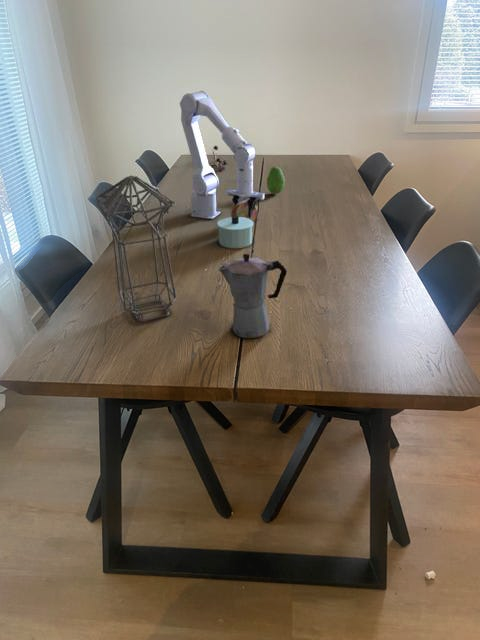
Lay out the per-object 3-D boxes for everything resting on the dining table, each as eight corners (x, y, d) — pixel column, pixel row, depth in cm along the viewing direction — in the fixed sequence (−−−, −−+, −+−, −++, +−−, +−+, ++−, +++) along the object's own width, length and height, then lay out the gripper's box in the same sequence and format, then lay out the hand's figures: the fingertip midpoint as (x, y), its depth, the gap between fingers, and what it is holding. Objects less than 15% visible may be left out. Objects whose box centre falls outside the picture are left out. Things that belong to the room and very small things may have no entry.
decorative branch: (223, 161, 229) (209, 137, 250) (213, 176, 233) (200, 152, 254) (240, 170, 236) (225, 146, 256) (231, 185, 240) (217, 160, 260)
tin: (236, 229, 168) (236, 207, 163) (229, 227, 169) (229, 205, 165) (259, 217, 178) (260, 196, 173) (253, 216, 179) (253, 195, 175)
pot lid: (211, 229, 152) (211, 220, 150) (226, 217, 161) (225, 208, 160) (245, 234, 148) (245, 225, 146) (258, 222, 158) (258, 213, 156)
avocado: (264, 195, 202) (264, 167, 195) (269, 190, 208) (270, 163, 201) (281, 197, 199) (282, 169, 193) (286, 192, 205) (287, 164, 199)
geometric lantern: (126, 333, 110) (101, 190, 92) (114, 303, 123) (89, 171, 104) (187, 319, 116) (176, 180, 97) (170, 291, 128) (157, 164, 109)
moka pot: (220, 320, 115) (217, 246, 104) (280, 316, 116) (283, 244, 105) (221, 341, 107) (219, 264, 96) (286, 338, 108) (290, 261, 97)
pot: (213, 245, 155) (213, 227, 152) (227, 233, 164) (226, 216, 161) (244, 250, 152) (244, 232, 148) (256, 238, 160) (256, 220, 157)
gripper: (222, 181, 165) (223, 217, 172) (259, 184, 160) (259, 221, 167) (230, 176, 170) (231, 211, 177) (266, 179, 165) (265, 215, 173)
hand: (245, 216), depth 173 cm, fingers closed on tin, 4 cm apart
